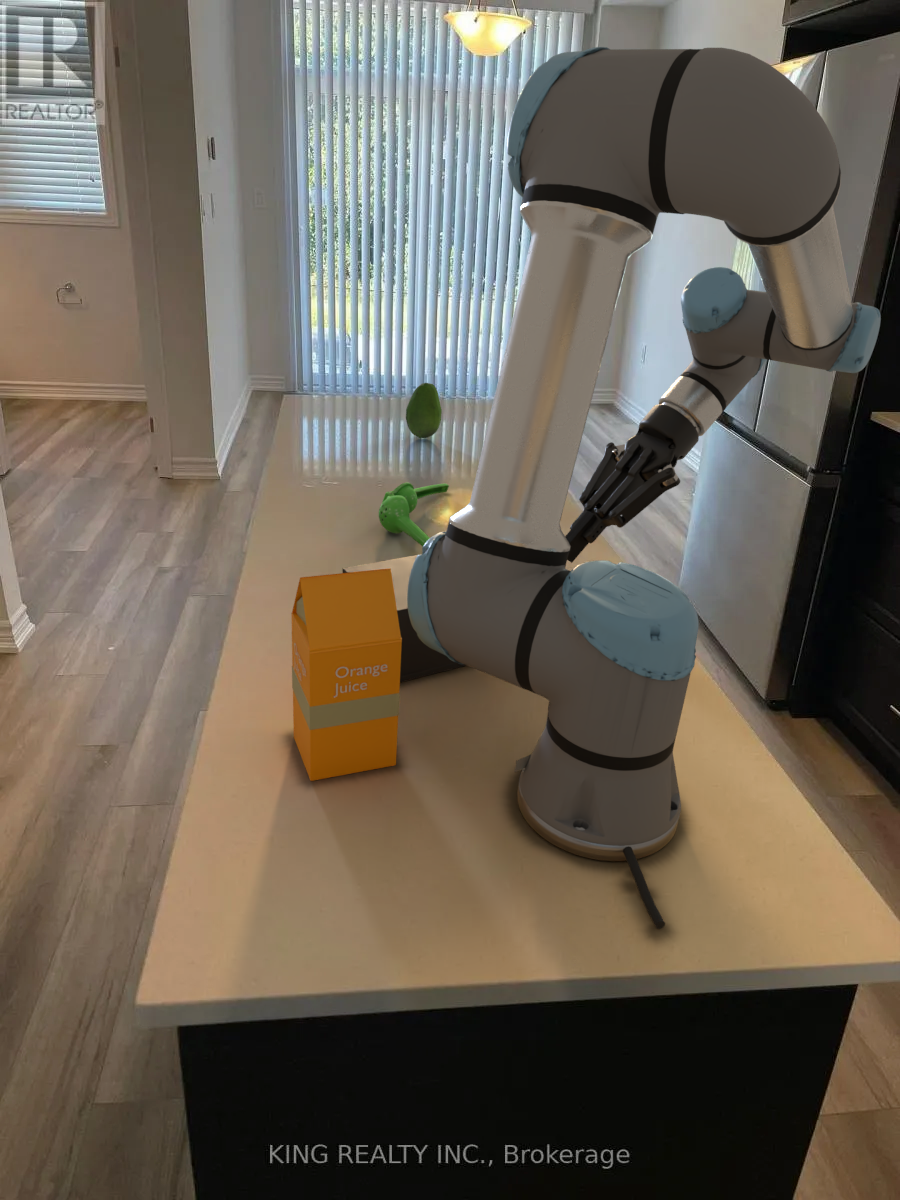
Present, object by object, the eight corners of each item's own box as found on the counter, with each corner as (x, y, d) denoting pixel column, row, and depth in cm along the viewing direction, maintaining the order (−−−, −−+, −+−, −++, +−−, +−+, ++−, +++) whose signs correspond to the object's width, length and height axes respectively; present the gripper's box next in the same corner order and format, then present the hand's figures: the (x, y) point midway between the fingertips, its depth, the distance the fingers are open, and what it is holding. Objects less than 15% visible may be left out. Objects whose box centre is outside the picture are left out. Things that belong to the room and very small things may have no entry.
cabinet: (441, 615, 116) (445, 549, 111) (492, 659, 106) (499, 589, 102) (341, 637, 109) (342, 567, 104) (387, 685, 99) (389, 612, 95)
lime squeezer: (451, 568, 129) (454, 529, 126) (372, 564, 129) (373, 525, 126) (449, 493, 159) (451, 460, 156) (385, 489, 159) (386, 456, 156)
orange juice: (397, 765, 86) (405, 585, 77) (309, 782, 83) (308, 596, 74) (374, 722, 92) (379, 551, 84) (292, 736, 89) (289, 559, 80)
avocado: (446, 437, 192) (450, 383, 187) (427, 444, 186) (430, 388, 181) (417, 430, 196) (419, 376, 190) (397, 437, 190) (399, 382, 184)
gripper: (725, 452, 112) (608, 589, 112) (656, 425, 122) (548, 552, 121) (703, 415, 107) (581, 559, 107) (633, 390, 117) (521, 522, 116)
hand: (563, 555), depth 114 cm, fingers closed
